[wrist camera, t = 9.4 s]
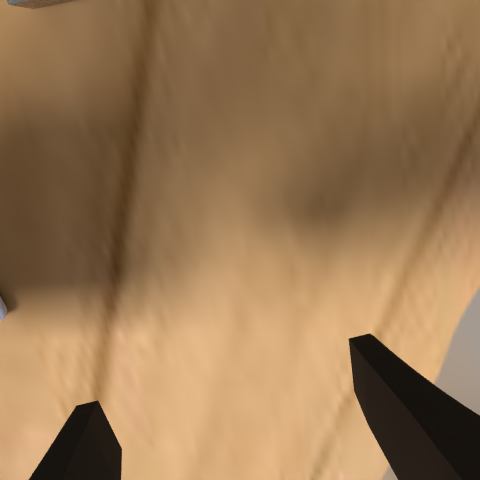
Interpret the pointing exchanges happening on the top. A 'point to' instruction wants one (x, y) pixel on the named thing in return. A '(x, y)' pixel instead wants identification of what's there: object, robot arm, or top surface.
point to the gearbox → (34, 3)
